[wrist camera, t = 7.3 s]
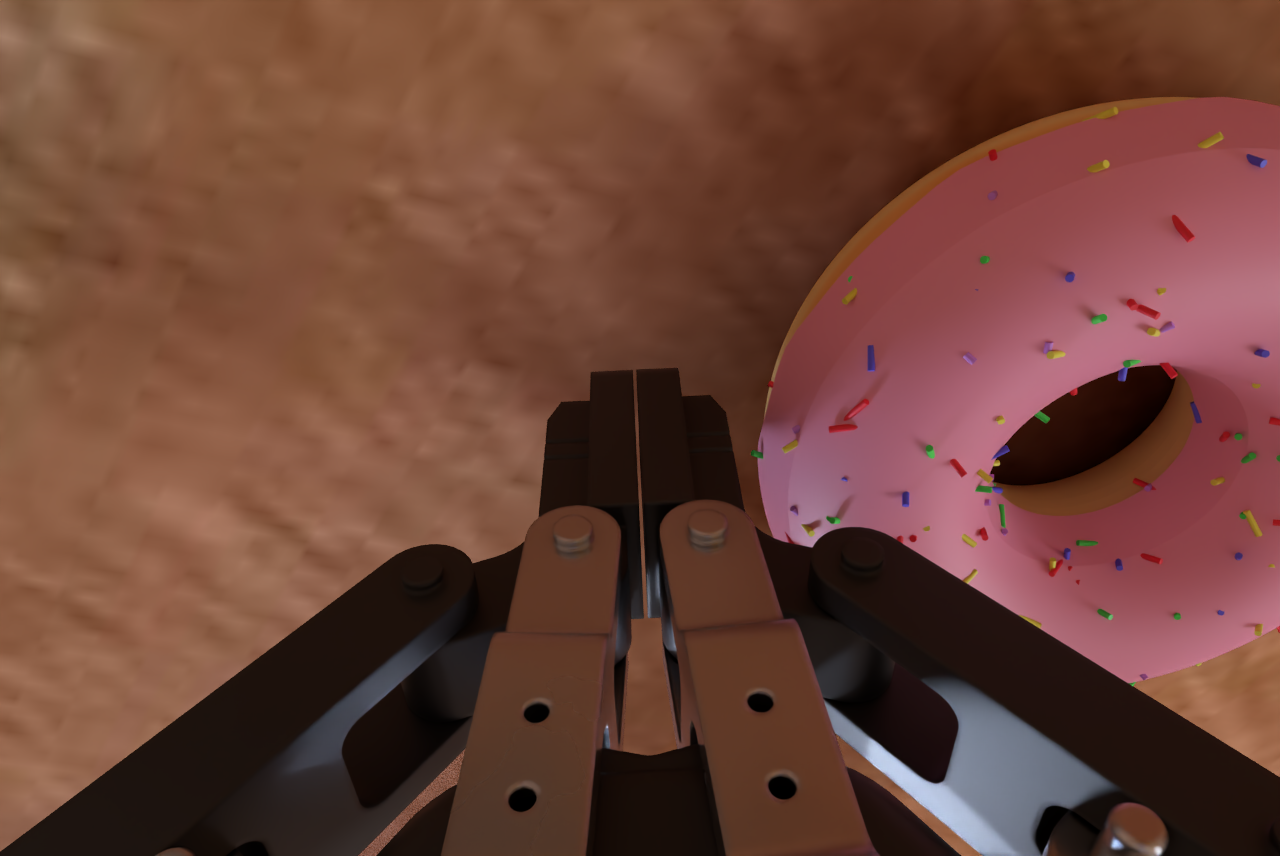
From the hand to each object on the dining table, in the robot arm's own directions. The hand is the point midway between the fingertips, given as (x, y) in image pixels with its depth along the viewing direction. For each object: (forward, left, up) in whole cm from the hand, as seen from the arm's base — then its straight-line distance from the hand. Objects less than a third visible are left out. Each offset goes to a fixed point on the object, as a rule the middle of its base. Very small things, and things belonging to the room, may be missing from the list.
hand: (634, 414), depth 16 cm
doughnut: (+7, 0, -1) cm, 8 cm away
